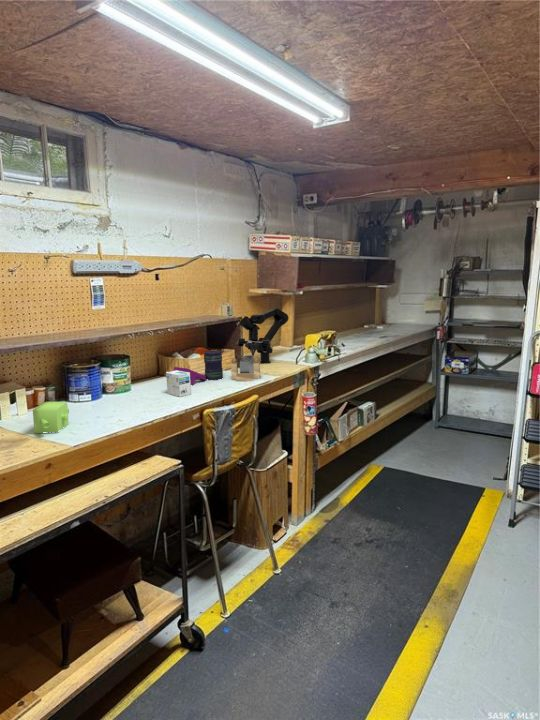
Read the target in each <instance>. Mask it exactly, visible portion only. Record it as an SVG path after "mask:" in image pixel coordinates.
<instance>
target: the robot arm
mask: <svg viewBox="0 0 540 720" xmlns="http://www.w3.org/2000/svg"><path fill="white" fill-rule="evenodd" d="M272 317H273V319H274V322H273V323H272V325H271V327H270V328H269V329H268V331H267V333H265V335H264V337H259V330H260V329H261V328H260V327H259V325H262V324H263V323H265V321H266V320H268V319H270V318H272ZM289 318H290V317H289V314H287V313H286V312H284V311H283V310H280V309H279V308H277V307H272V308H271V309H268V310H266V311H264V312H261V313H254V314H251V316H250V317H249V316H248V315H247V316H246V315H245V316H244V317H242V319H240V321H239V325H240V326H241V327H242V328H243V329H244V330H246V331H248V339H247V340H246V338H244V337H242V338H241V337H238V339H237V344H236V345H237V347H241V348H242V347H245V348H247V349H248V350H250V353H251V354H250V355H253V357H254V356H255V353H256V352H257V353H258V354H260V360H259V362H260V364H271V360H270V359H271V358H270V354H272V353H273V348H272V347H271V344H272V343H271V341H272V340H273V339H274V337H275V335H277V333H278V332H279V330H280V328H281V327H283V326H285V324H286V323H287V322H288V321H289Z"/></svg>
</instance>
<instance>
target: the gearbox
mask: <svg viewBox="0 0 540 720" xmlns="http://www.w3.org/2000/svg"><path fill="white" fill-rule="evenodd" d="M69 414H70V409H69V407H68V402H67V401H44V402H42V403H41V404H39V405H38V406H36V407H34V408H33V410H32V416H33V417H32V419H33V430H34V434H38V433H43V432H58V431H59V430H61V429H62V428H63V427H65V426H66V425H67V424H68V425H69V423H70V422H69ZM68 425H67V426H68ZM67 426H66V427H67ZM66 427H65V428H66ZM62 430H63V429H62ZM62 430H61V431H62ZM58 433H59V432H58Z"/></svg>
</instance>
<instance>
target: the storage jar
mask: <svg viewBox="0 0 540 720" xmlns="http://www.w3.org/2000/svg"><path fill="white" fill-rule="evenodd" d="M203 362H204V375H205V376H206V379H208V380H207V381H210V380H213V381H219V380H218V379H221V380H223V379H224V376H223V375H224V372H223V370H224V369H223V351H222V350H219V349H213V350H212V349H211V350H205V351H203ZM222 378H223V379H222Z"/></svg>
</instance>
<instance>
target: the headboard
mask: <svg viewBox="0 0 540 720" xmlns="http://www.w3.org/2000/svg"><path fill="white" fill-rule="evenodd" d="M253 360H254V363H253V364H254V373H240V372H239V369H238V361H237V358H234V357H233V358H232V359H231V363H230V370H231V380H232V381H236V382H254V381H255V380H254V379H260V380H261V363H260V358H258V357H255V358H253ZM253 380H254V381H253Z"/></svg>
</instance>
